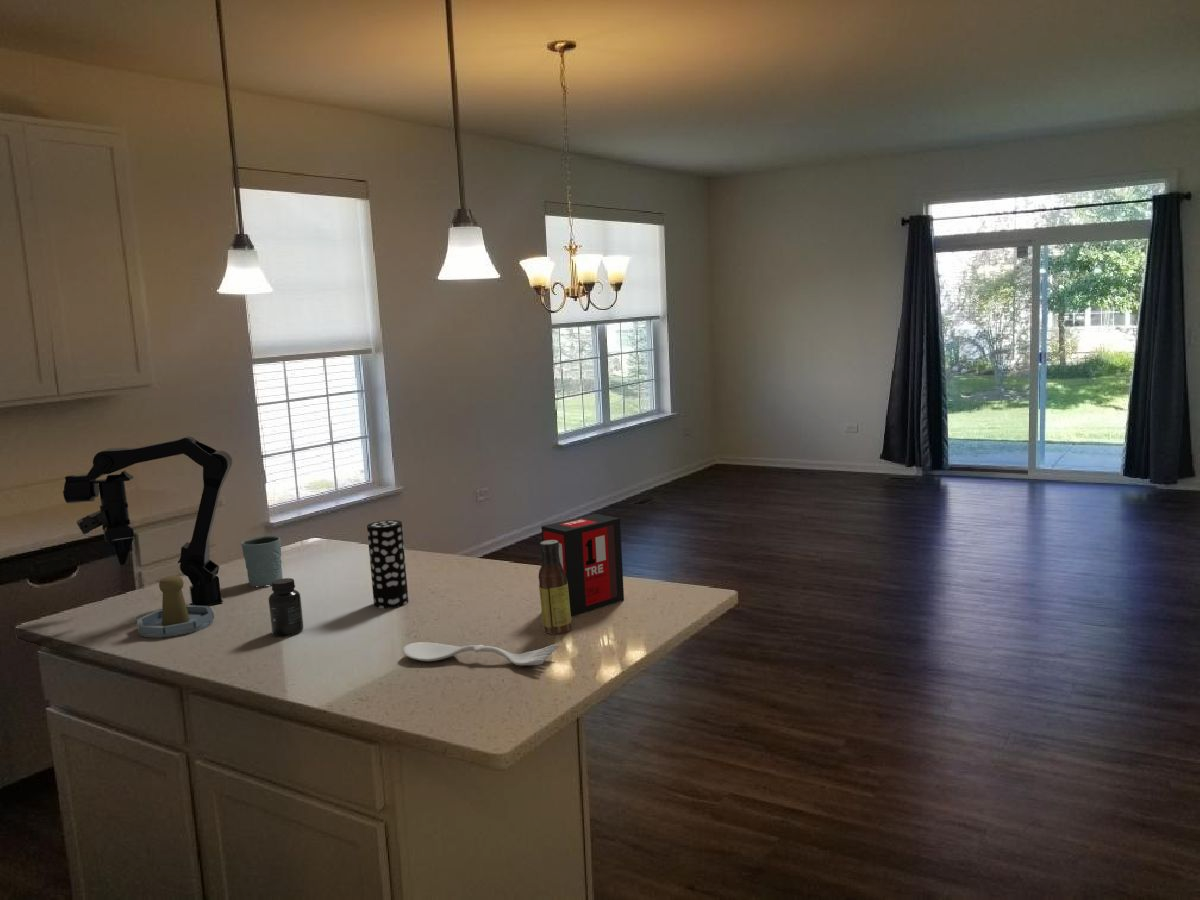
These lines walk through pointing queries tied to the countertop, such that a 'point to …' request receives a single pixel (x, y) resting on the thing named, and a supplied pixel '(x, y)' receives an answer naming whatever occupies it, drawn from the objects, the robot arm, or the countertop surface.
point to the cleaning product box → (590, 560)
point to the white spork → (442, 651)
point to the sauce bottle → (553, 590)
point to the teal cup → (263, 560)
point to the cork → (173, 601)
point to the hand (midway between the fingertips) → (121, 560)
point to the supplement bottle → (285, 608)
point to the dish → (154, 628)
